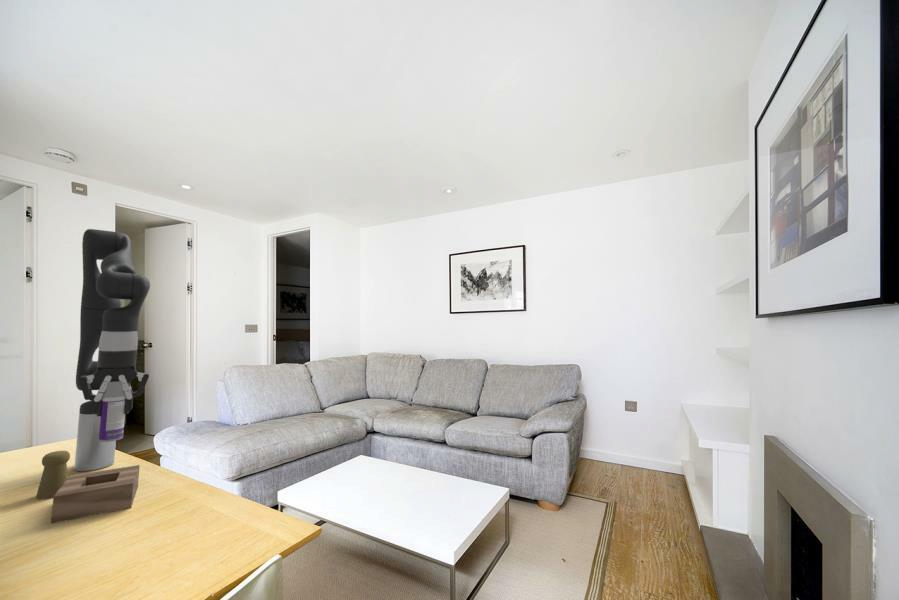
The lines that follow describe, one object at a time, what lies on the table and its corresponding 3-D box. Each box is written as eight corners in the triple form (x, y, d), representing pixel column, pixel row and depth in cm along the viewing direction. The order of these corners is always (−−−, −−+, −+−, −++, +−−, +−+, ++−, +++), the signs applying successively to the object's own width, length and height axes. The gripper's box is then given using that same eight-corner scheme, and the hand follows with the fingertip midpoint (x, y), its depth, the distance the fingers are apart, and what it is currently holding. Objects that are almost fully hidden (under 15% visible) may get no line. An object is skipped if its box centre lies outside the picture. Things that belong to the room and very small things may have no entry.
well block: (67, 499, 96) (69, 475, 96) (137, 486, 103) (139, 465, 104) (50, 523, 84) (53, 496, 84) (131, 507, 92) (133, 482, 92)
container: (97, 438, 95) (102, 380, 96) (121, 434, 98) (126, 378, 99) (99, 443, 92) (104, 382, 92) (124, 439, 95) (129, 381, 96)
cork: (32, 496, 97) (36, 453, 98) (64, 487, 102) (67, 446, 103) (40, 501, 94) (44, 457, 95) (72, 492, 99) (76, 450, 100)
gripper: (154, 346, 103) (149, 408, 103) (83, 347, 95) (77, 414, 94) (152, 349, 97) (147, 414, 97) (76, 350, 89) (70, 421, 88)
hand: (113, 414), depth 95 cm, fingers closed on container, 4 cm apart
